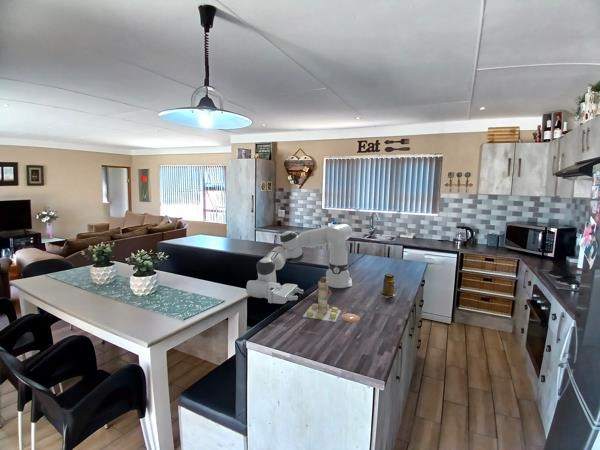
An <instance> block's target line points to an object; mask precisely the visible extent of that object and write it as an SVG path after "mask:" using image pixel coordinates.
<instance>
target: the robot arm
mask: <svg viewBox="0 0 600 450" xmlns="http://www.w3.org/2000/svg"><path fill="white" fill-rule="evenodd" d="M352 234H353V228H352V226H350V225H349V224H347V223H338V224H334V225H329V226H324V227H318V228H314V229H309V230H308V229H307V230H305V231H302V232H300V233H298V231H297V232H296V231H293V230H285V231H284V232H282V233H281V234H280V236H279V241H280V242H281V245H282V246H281V245H279V246H276V247H274V248H273V249H272V250H270V251H269V252H267V253H266V254H265V255H264V257H263V258H262V259H259V261H257V263H256V271H257V279H256V280H251V279H250V280H248V281H247V282H246V285H245V286H246V287H245V288H246V289H245V290H246V294H247V295H248V296H250V297H253V298H258V299H267V303H269V304H279V305H280V304H281V305H284V304H286V303H287V302H288V301H289V302H290V301H297V300H298V299H299V296H298V295H295V294H296V293H299V294H301V295H303V294H304V292H305V291H304V289H302V288H300V287H299V286H298V284H295V283H284V284H282V285H281V283H280V282H277V274H276V271H279V270H282V268H283V267H284V266H285V264H286V262H290V263H294V264H296V263H300V262H301V261H302V260H304V257H305V256H304V255H305V254H304V252H303V248H309V247H310V248H311V247H319V246H324V245H328V246H329V263H328V269H327V270H326V273H325V278H326V279H327V282H328V287H330V288H336V289H345V288H349V287H350V288H351V287H353V281H352V280H353V279H352V277H350V272H349V270H348V269H349V265H348V256H349V255H348V253H349V252H348V249H347V246H346V241H347V240H349V239H350V237H351V236H352ZM302 247H303V248H302Z"/></svg>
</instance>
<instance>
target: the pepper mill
mask: <svg viewBox="0 0 600 450" xmlns="http://www.w3.org/2000/svg"><path fill="white" fill-rule="evenodd" d="M317 284H318V288H317V290H318V295H317V304H318V312H320V313H323V315H326V314H327V305H328V300H327V296H328V288H329V286H328V282H327V279H326V276H322V277H320V279H319V280H318V283H317Z"/></svg>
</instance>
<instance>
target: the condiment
mask: <svg viewBox="0 0 600 450" xmlns="http://www.w3.org/2000/svg"><path fill="white" fill-rule="evenodd" d="M382 285H383V287H382V292H379V293H377V295H378V296H381V297H382V298H386V299H387V298H391V297H395V296H397V294H395V293H394V289H395V276H394V274H391V273H386V274H385V275H384V278H383V284H382Z"/></svg>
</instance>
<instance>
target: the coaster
mask: <svg viewBox="0 0 600 450" xmlns="http://www.w3.org/2000/svg"><path fill="white" fill-rule="evenodd" d="M340 319H342V320H343V321H345V322H349V323H357V322H359V321H360V320H361V317H360V316H359V315H357V314H354V313H349V312H346V313H343V314H341V315H340Z"/></svg>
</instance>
